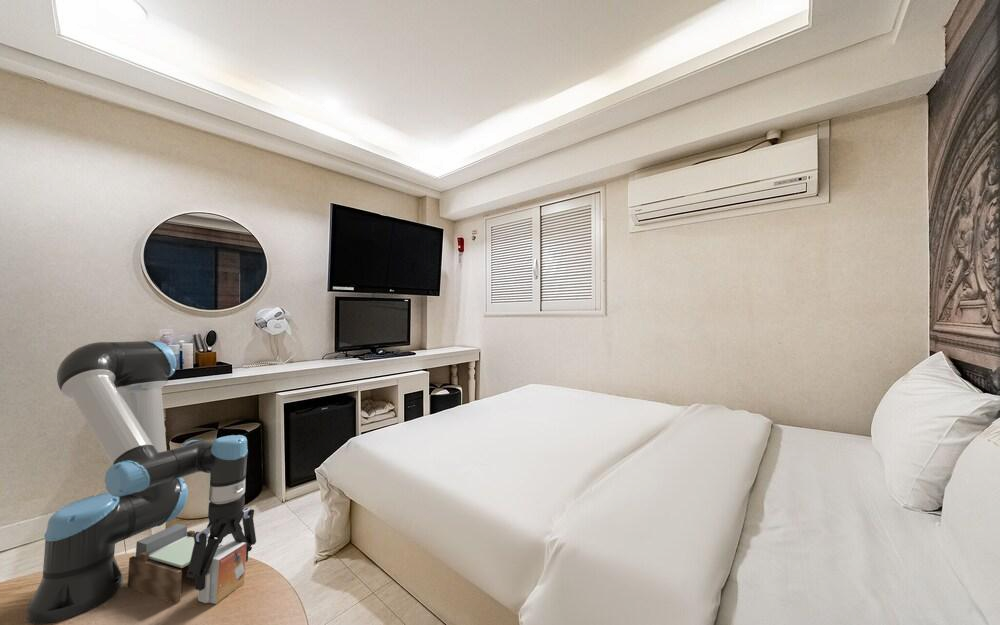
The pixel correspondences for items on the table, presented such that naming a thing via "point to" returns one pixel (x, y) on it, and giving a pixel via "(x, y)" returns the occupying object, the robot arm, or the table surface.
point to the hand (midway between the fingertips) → (222, 588)
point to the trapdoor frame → (155, 577)
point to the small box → (227, 570)
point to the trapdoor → (168, 546)
